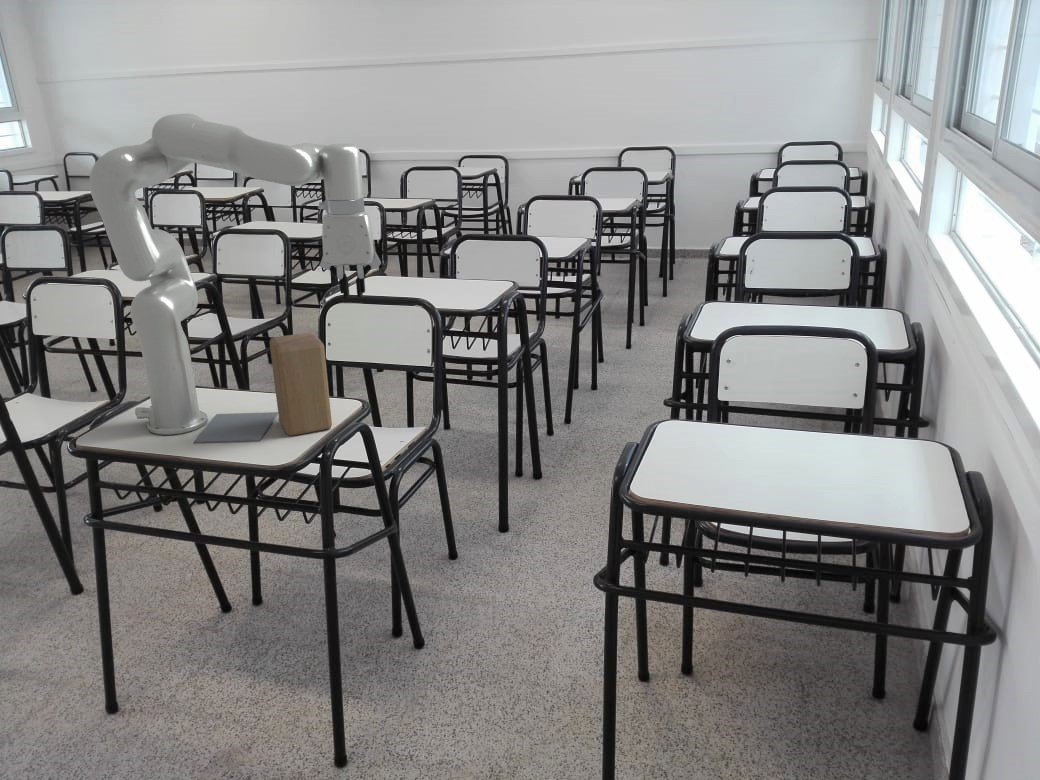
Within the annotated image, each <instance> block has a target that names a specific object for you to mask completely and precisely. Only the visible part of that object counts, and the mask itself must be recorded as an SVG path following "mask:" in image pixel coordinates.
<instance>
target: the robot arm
mask: <svg viewBox="0 0 1040 780" xmlns="http://www.w3.org/2000/svg"><path fill="white" fill-rule="evenodd" d="M361 161H362V160H361V152H360V149H359V147H358V145H356V144H350V143H338V144H337V143H336V144H327V145H325V144H319V143H318V144H317V143H311V142H310V143H309V142H305V143H299V144H298V143H297V144H293V145H288V144H281V143H277V142H272V141H269V140H268V141H267V140H263V139H259V138H256V137H252V136H250V135H248V134H246V133H245V132H244V131H243V129H241V128H239V127H237V126H232V125H227V124H221V123H216V122H211V121H207V120H205V119H204V118H202V117H200V116H198V115H195V114H193V113H177V114H176V113H175V114H167V115H164V116H162V117H160V118H159V119H158V120H157V121H156V122H155V123H154V125H153V127H152V131H151V138H149V139H148V140H146V141H145V142H143V143H141V144H135V145H124V146H120V147H117V148H116V147H115V148H113V149H110V150H109V151H107V152H105V153H104V154H102V155H101V156H100V157H99V158H98V159H97V160H96V162H95V163H94V165H93V166H92V168H91V170H90V174H89V182H88V183H89V191H90V195H91V197H92V200H93V202H94V205H95V207H96V210H97V211H98V213H99V215H100V216H99V217H100V218H101V220H102V223H103V226H104V228H105V231H106V235H107V238H108V240H109V243H110V246H111V248H112V251H113V253H114V256H115V257H116V260H117V263H118V265H119V268H120V270H121V271H122V273H123V275H124V276H125V277H126V278H127V279H129V280H131V281H133V282H145V281H149V282H150V285H149V286H147V287H145V288H142V290H141V291H139V292H138V293H137V294H136V295H135V297H134V298H133V300H132V301H131V305H130V317H131V321H132V324H133V326H134V329H135V331H136V334H137V337H138V341H139V345H140V350H141V354H142V359H143V360H142V361H143V365H144V370H145V375H146V382H147V387H148V393H149V399H150V404H151V405H150V406H149V407H145V406H142V407H136V408H135V409H134V413H135V417H136V419H137V420H140V419H141V420H142V419H147V420H149V421H148V422H147V426H146V427H147V429H148V431H149V432H150V433H152V434H156V435H164V436H166V435H179V434H184V433H189V432H192V431H195V430H198V429H200V428H201V427H204V426H205V425H206V424H208V421H209V419H208V416H209V415H208V414H207V413H206V412H205V411H203V410H200V408H199V407H200V406H199V401H198V394H197V388H196V382H195V376H194V370H193V364H192V358H191V351H190V347H189V346H190V345H189V342H188V338H187V336H186V334H185V332H184V330H183V327H182V323H181V322H182V321H184V320H185V319H187V318H188V317H190V316H191V315H192V314H193V313H194V312H195V311H196V309H197V307H198V304H199V294H198V289H197V286H196V283H195V281H194V278H193V275H192V272H191V270H190V267H189V265H188V261H187V259H186V256H185V253H184V251H183V248H182V246H181V245H180V243H179V242H178V240H177V239H176V237H175V236H173V235H172V234H171V233H170V232H168V231H165V230H162V229H159V228H155V229H153V228H152V225H151V223H150V221H149V218H148V214H147V212H146V209H145V208H144V206H143V204H142V203H141V201H139V199H138V197H137V195H136V192H137V191H138V190H140V189H144V188H148V187H153V186H156V185H159V184H162V183H164V182H166V181H167V180H169V179H171V178H172V177H174V176H175V175H177V173H179V172H181V171H182V170H183V169H185V168H187V167H188V166H189V165H191V164H193V163H194V164H198V165H201V166H202V165H203V166H209V167H214V168H217V169H222V170H225V171H226V170H227V171H231V172H234V173H236V174H239V175H243V176H245V177H250V178H253V179H256V180H258V181H259V180H261V181H265V182H267V183H268V182H269V183H274V184H279V185H285V186H292V187H299V186H304V185H306V184H308V183H311V182H315V181H319V180H323V182H324V183H323V184H324V196H325V200H324V201H322V202H318V208H319V210H325V211H326V212H325V213H326V214H324V215H323V217H322V226H321V227H322V228H321V229H322V231H321V232H322V233H321V235H322V237H321V239H322V257H321V261H320V263H319V267H321V268H323V269H325V270H327V271H330V272H331V273H332V274H333V275H334V276H335V277H337V279H338V280H339V281H338V282H339V289H340V290H339V291H340V294H343V298H344V299H347V298H348V297H349V296H350V285H349V277H348V275H347V274H346V268H345V266H354V265H355V266H356V269H357V275H356V279H355V286H356V294H357V296H356V297H357V298H358V299H360V298H363V295H364V293H366V284H365V282H366V281H365V276H366V275H368V273H370V271H371V270H374V269H376V268H378V267H380V266H381V264H382V262H381V259H380V257H379V256H378V254H377V252H376V249H375V242H374V241H375V240H374V234H373V230H372V229H373V228H372V224H371V219H370V215H369V213H367V212H365V198H364V187H363V174H362V173H363V172H362V162H361Z"/></svg>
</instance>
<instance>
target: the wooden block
mask: <svg viewBox="0 0 1040 780" xmlns="http://www.w3.org/2000/svg"><path fill="white" fill-rule="evenodd" d="M269 348H270V349H269V350H270V357H271V367H272V374H273V380H274V382H273V383H274V389H275V390H274V391H275V396H276V397H275V398H276V399H275V400H276V404H277V412H278V415H277V416H278V420H279V423H280V424H281V426H282V429H283V430H284V432H285V434H286V435H287V436H290V437H291V436H297V435H302V434H308V433H314V432H319V431H325V429H326V430H330V429H331V428H332V425H333V422H332V413H331V412H332V410H331V402H330V393H329V390H330V389H329V382H328V373H327V372H328V371H327V363H326V353H325V345H324V343H323V342H322V340H321V339H320V338H319V337H318V336H317V335H316V334H315V333H314V332H311V331H309V332H305V333H303V332H302V333H295V334H289V335H282V336H281V335H280V336H273V337H272V338H270V339H269Z"/></svg>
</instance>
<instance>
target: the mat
mask: <svg viewBox="0 0 1040 780" xmlns="http://www.w3.org/2000/svg"><path fill="white" fill-rule="evenodd" d="M278 416H279V415H278V411H274V412H273V411H271V412H268V411H267V412H239V413H237V412H236V413H234V412H233V413H216V414H215V415H214V416H213V418H212V419H211V420H210V421H209V422H208V423H207V425H206V426H205V427H204V428H203V429H202V431H201V432H200V433H199V434H198V435H197V436H196V438H195V439H194V440H193V444H211V443H212V444H213V443H215V444H217V443H247V442H261V440H262V439H263V437H264V436H265V434H266V433H267V432H268V430H269V428H270V427H271V425H272V424H273V422H274V421H275V419H276V418H277V417H278Z"/></svg>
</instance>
